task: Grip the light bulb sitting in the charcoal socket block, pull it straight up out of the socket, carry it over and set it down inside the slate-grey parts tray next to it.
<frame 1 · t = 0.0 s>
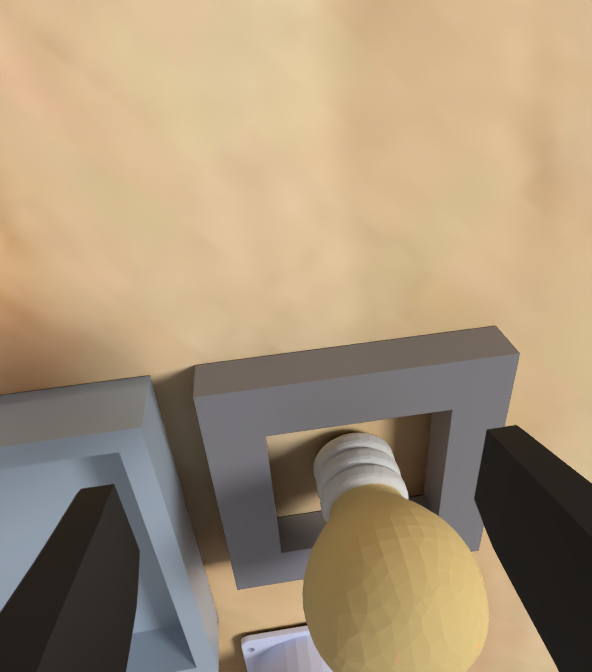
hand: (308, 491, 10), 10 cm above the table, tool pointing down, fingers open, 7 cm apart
parts tray: (23, 546, 25), on the table
light bulb: (349, 450, 24), resting in socket block
socket block: (350, 453, 24), on the table
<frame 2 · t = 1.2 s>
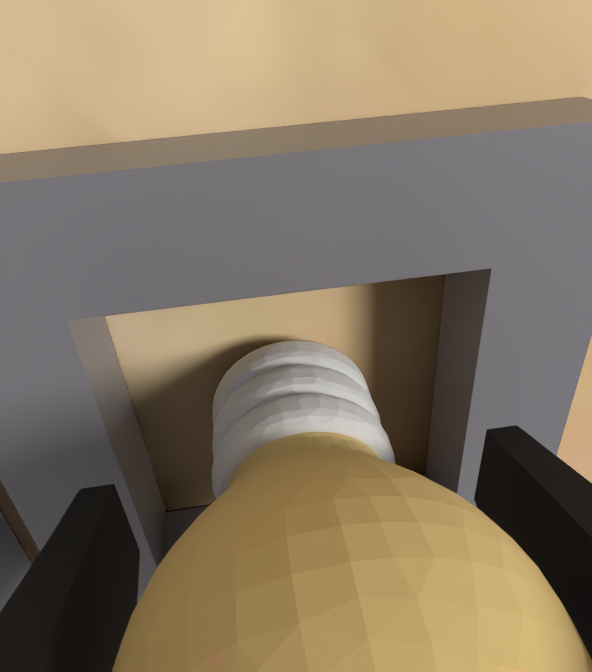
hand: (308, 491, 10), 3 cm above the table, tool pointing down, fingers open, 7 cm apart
light bulb: (287, 384, 13), resting in socket block
socket block: (288, 390, 13), on the table
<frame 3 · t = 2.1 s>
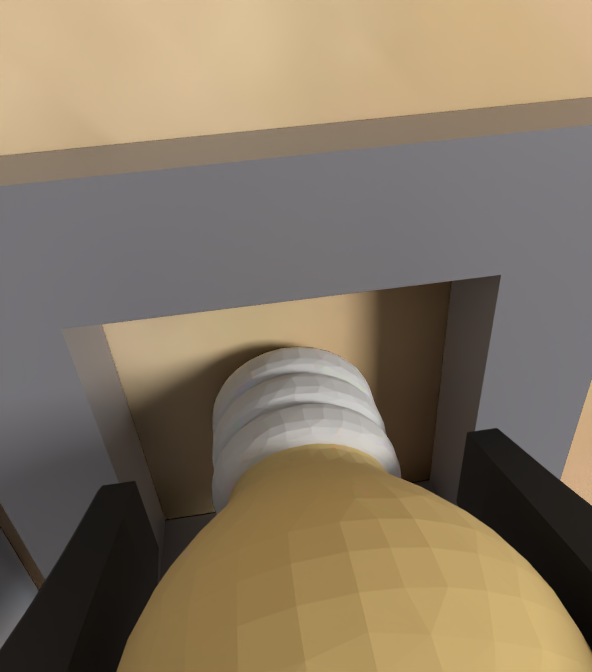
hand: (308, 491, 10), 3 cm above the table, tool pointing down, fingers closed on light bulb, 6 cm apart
light bulb: (289, 391, 13), resting in socket block, touching gripper
socket block: (290, 397, 13), on the table
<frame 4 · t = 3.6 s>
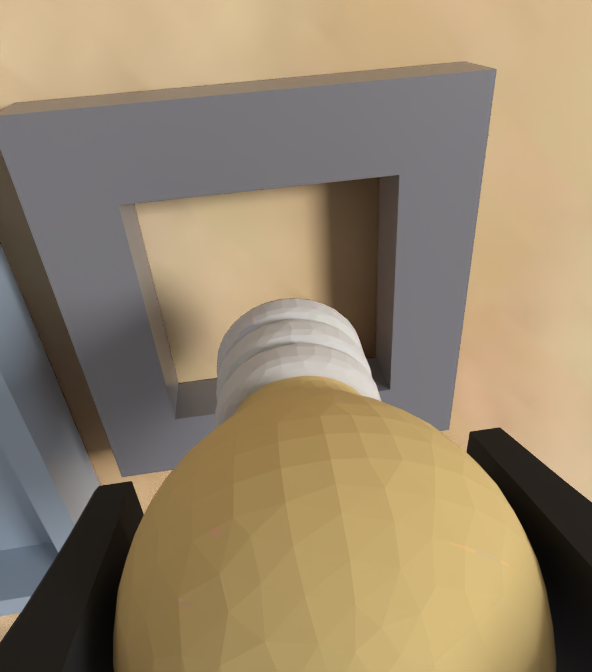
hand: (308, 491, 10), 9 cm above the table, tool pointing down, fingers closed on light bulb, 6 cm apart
light bulb: (287, 342, 14), point 4 cm above the table, touching gripper
socket block: (268, 281, 18), on the table
when the fingers open (10 cm above the table, at t = 4.9 s): light bulb drops 2 cm, resting on parts tray.
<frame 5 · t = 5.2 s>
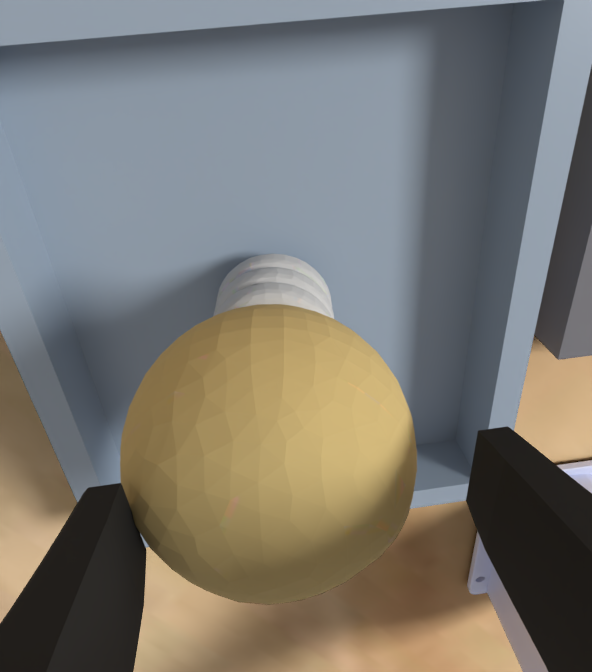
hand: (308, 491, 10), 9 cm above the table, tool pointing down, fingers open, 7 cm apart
parts tray: (278, 287, 18), on the table
light bulb: (274, 293, 18), point 1 cm above the table, touching gripper, parts tray
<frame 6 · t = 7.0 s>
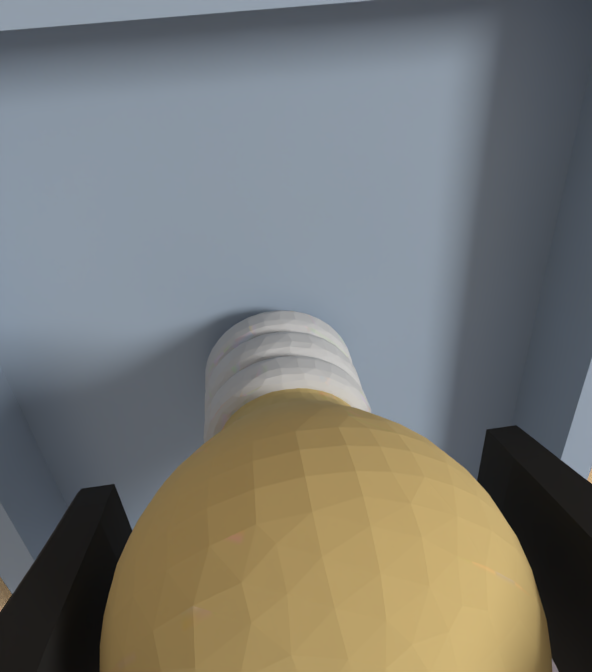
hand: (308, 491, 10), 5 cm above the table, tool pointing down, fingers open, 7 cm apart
parts tray: (281, 348, 14), on the table
light bulb: (275, 355, 14), resting on parts tray
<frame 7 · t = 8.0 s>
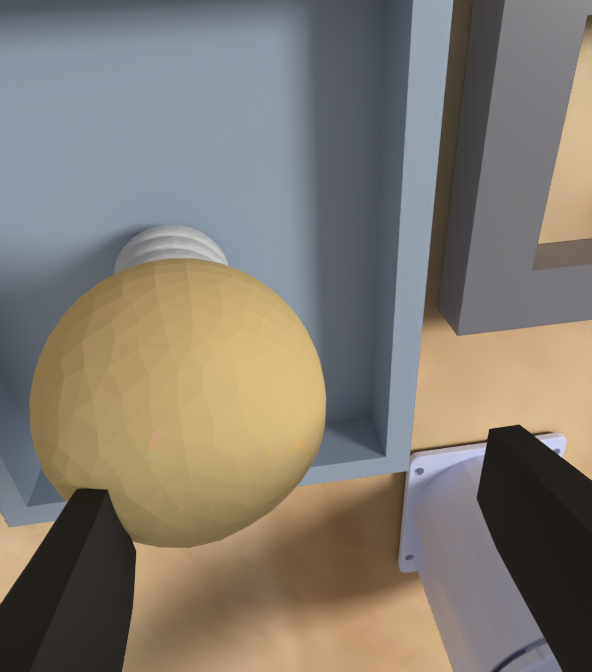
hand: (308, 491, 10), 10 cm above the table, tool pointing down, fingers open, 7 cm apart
parts tray: (179, 262, 18), on the table
light bulb: (172, 268, 18), point 1 cm above the table, touching gripper, parts tray
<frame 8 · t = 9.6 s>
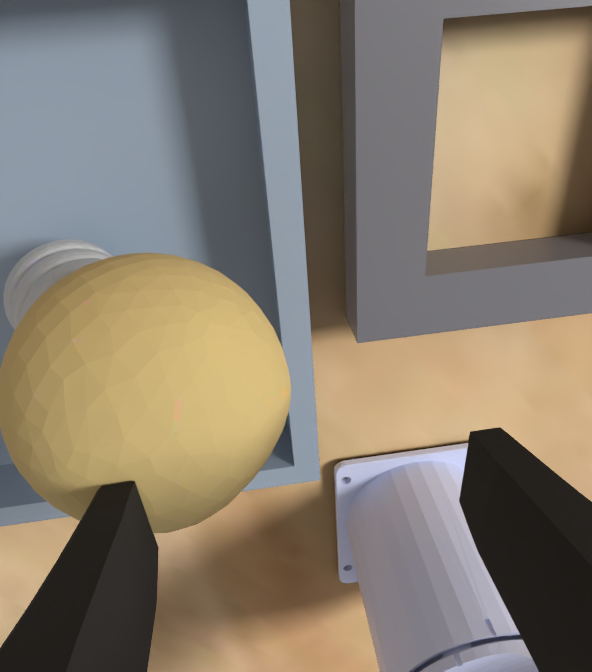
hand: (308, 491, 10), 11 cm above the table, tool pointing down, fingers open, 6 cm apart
parts tray: (72, 272, 18), on the table
light bulb: (60, 287, 17), point 1 cm above the table, touching gripper, parts tray
socket block: (520, 138, 18), on the table
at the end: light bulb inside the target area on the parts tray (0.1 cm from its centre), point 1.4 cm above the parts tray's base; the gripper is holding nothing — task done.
